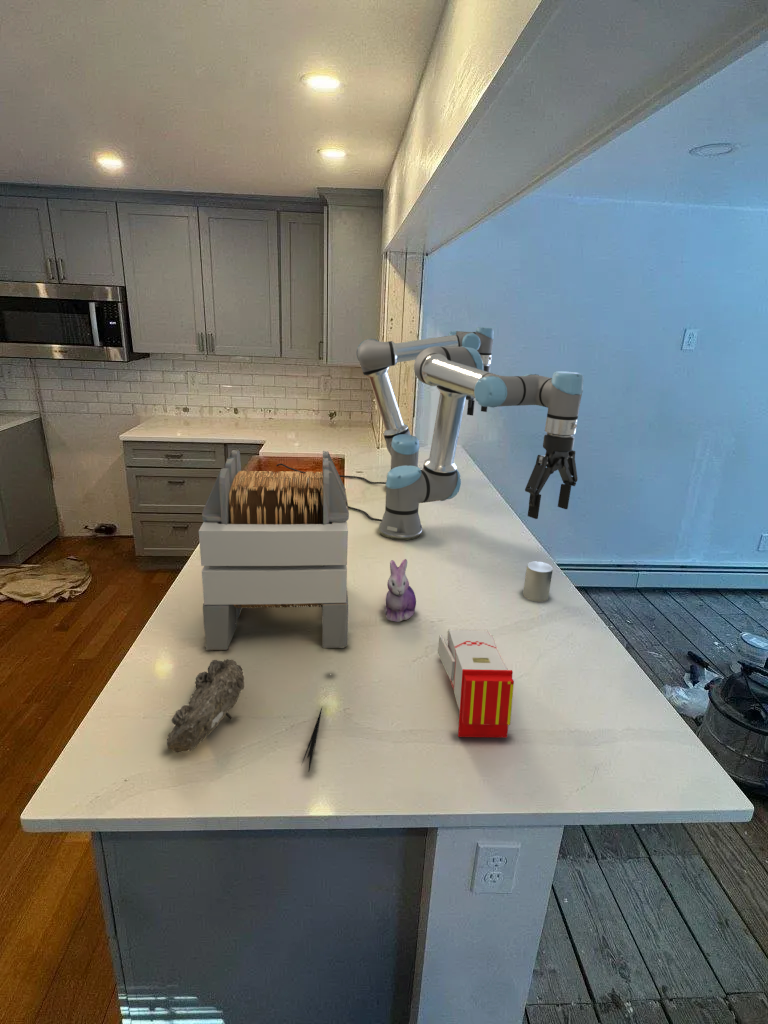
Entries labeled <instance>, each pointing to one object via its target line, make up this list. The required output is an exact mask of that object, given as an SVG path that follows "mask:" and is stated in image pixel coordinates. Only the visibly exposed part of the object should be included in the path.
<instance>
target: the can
mask: <svg viewBox="0 0 768 1024" xmlns="http://www.w3.org/2000/svg"><path fill="white" fill-rule="evenodd" d="M553 571H554V568H553V566H552V565H551V564H549V563H547V562H543V561H530V562H528V563H527V564H526V569H525V577H524V583H523V590H522V595H523V597H524V598H525V599H526V600H528V601H531V602H535V603H544V602H546V601H548V599H549V595H550V590H551V585H552V584H551V583H552V576H553Z"/></svg>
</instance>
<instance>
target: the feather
mask: <svg viewBox="0 0 768 1024" xmlns="http://www.w3.org/2000/svg"><path fill="white" fill-rule="evenodd" d="M329 675H330V676H331V675H332V674H331V673H330V674H329ZM322 710H323V707H321V708H320V710H319V713H318V716H317V719H316V723H315V725H314V728H313V731H312V733H311V737H310V739H309V742H308V745H307V748H306V751H305V754H304V757H303V760H302V763H301V767H302V765H303V763H304V761H305V758H308V759H309V760H308V762H307V763H308V764H307V766H308V771H310V770H311V766H312V765H311V764H312V760H313V757H315V756H314V755H315V751H316V749H315V746H317V739H318V733H319V729H320V722H321V717H322V712H323V711H322ZM313 754H314V755H313ZM306 755H307V757H306Z"/></svg>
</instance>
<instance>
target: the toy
mask: <svg viewBox="0 0 768 1024" xmlns="http://www.w3.org/2000/svg"><path fill="white" fill-rule="evenodd" d="M446 640H447V643H446V641H445V639H444V636H443V635H442V634H439V637H438V646H437V656H438V657H439V659H440V661H441V663H442V666H443V668H444V670H445V672H446V674H447V677H448V679H449V681H450V684H451V687H452V690H453V693H454V697H455V701H456V705H457V708H458V711H459V714H458V715H459V716H458V730H457V731H458V732H457V737H458V738H508V731H509V726H510V725H511V717H512V707H513V697H514V696H513V695H514V684H515V680H514V679H513V673H514V671H513V670H512V669H508V667H507V665H506V662H505V661H504V659H503V658H502V655H501V653H500V651H499V649H498V647H497V643H496V639H495V637H494V635H493V634H491V632H490V631H489V629H467V628H466V629H465V628H463V629H461V628H460V629H459V628H448V630H447V639H446Z"/></svg>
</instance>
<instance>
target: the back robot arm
mask: <svg viewBox="0 0 768 1024" xmlns="http://www.w3.org/2000/svg"><path fill="white" fill-rule="evenodd" d="M494 333H495V331H494V328H492V327H485V326H484V327H483V326H482V327H481V326H480V327H479V326H478V327H477V328H476V330H475V331H462V330H453V331H452V330H451V331H449V333H448V334H447V335H445V336H437V337H429V338H423V339H416V340H409V341H403V342H402V341H401V342H394V341H393V340H390V341H379V340H377V339H375V338H367V339H365V340H363V341H361V342H360V343H359V344H358V346H357V348H356V358H357V360H358V362H359V365H360V369H361V371H362V373H363V376H364V377H366V378H368V381H369V383H370V387H371V390H372V393H373V397H374V399H375V403H376V405H377V409H378V412H379V415H380V418H381V421H382V424H383V427H384V431H383V434H382V435H383V438H384V440H385V441H384V442H385V445H386V446H385V447H386V449H387V451H388V453H389V455H390V470H391V469H393V468H395V467H399V466H405V465H407V466H410V465H411V466H417V467H419V455H420V454H419V453H420V439H418V437H417V436H415V435H412V434H411V432H410V428H409V425H407V424H405V423H404V421H403V418H402V413H401V411H400V408H399V405H398V402H397V401H398V400H397V399H396V395H395V392H394V389H393V385H392V382H391V379H390V376H389V372H388V371H389V369H390V367H393V366H396V365H397V363H402V362H403V363H404V362H410V361H415V360H416V358H417V356H418V355H419V354H420V353H421V352H422V351H423V350H425V349H427V348H430V347H461V346H463V347H469V348H474V349H475V350H477V351H478V353H479V354H480V356H481V359H482V361H483V371H487V372H490V373H491V364H492V359H493V357H492V354H493V345H494V336H495V334H494ZM465 401H467V409H466V415H467V416H474V413H475V410H474V409H475V401H476V399H475V398H473V397H470V396H466V399H465ZM480 412H483V413H487V412H488V407H484V406H481V405H480ZM275 466H276V467H279V466H281V467H284V468H286V469H289V470H292V471H297V472H300V474H301V473H302V474H303V473H304V474H305V473H306V472H307V471H302V470H299V469H296V468H294V467H290V466H289V465H286V464H284V463H277V464H276V465H275ZM313 473H314V474H315V473H316V472H313ZM339 476H340V478H347V479H348V478H351V479H359V480H362V481H363V480H364V481H365V482H367V483H368V484H371V485H372V484H373V485H386V481H370V480H368V479H367V478H365V477H362V476H358V475H357V476H356V475H345V474H344V475H343V474H339Z"/></svg>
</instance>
